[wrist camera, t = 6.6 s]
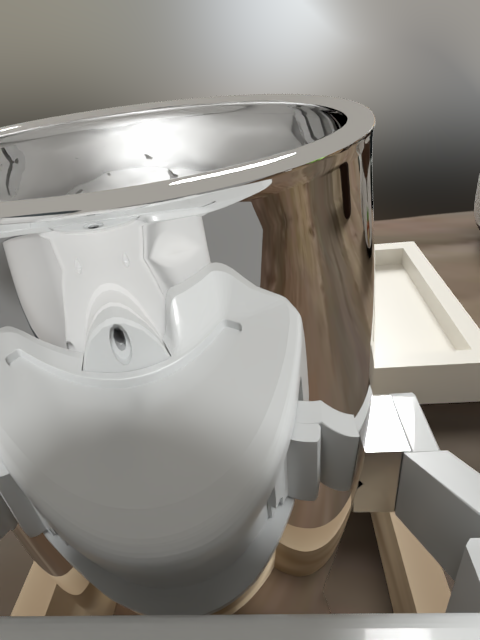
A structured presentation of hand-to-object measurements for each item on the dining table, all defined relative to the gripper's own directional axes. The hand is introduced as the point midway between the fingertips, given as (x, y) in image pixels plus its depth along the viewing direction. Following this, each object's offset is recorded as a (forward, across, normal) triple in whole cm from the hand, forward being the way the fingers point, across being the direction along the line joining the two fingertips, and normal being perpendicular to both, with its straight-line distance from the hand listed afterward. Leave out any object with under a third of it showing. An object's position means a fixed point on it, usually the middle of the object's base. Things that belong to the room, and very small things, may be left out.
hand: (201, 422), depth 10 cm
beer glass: (-1, 0, -9) cm, 9 cm away
